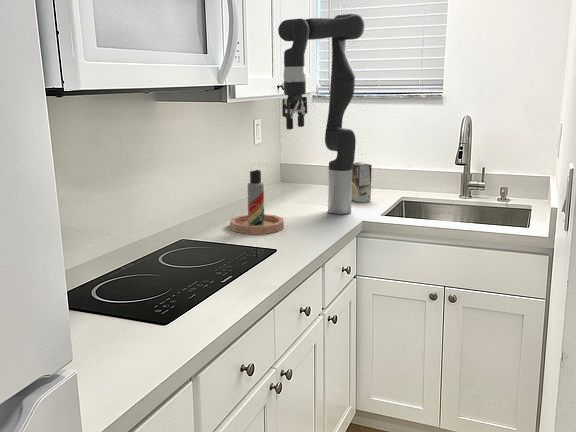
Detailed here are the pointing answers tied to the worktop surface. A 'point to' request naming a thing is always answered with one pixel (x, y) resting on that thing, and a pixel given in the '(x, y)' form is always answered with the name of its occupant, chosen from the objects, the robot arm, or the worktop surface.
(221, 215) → the worktop surface
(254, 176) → the lotion bottle
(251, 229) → the round tray
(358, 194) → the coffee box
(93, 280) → the worktop surface
